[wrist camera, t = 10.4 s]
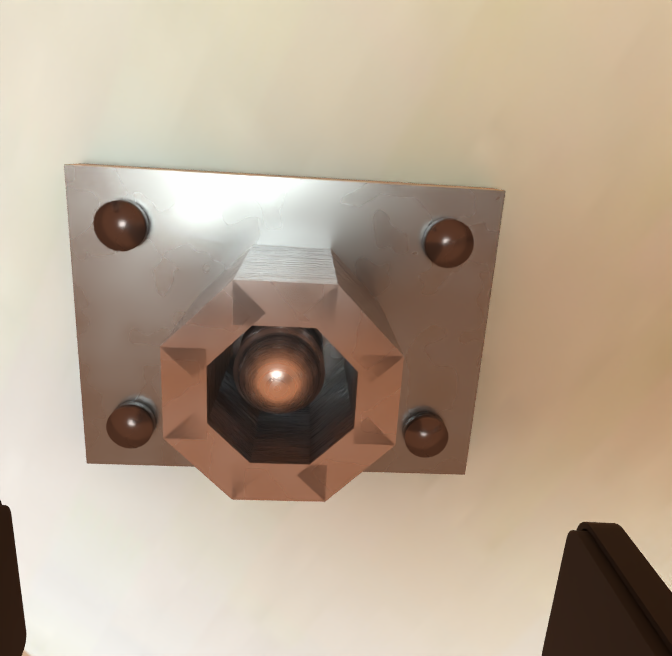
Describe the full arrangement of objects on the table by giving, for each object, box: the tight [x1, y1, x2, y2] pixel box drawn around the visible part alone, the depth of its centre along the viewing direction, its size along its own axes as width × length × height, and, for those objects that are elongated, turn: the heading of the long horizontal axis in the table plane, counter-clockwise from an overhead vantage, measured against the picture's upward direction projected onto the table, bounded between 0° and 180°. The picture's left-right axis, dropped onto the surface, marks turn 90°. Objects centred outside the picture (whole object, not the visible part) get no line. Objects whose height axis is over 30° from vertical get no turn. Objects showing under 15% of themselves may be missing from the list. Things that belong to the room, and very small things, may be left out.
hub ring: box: [160, 245, 404, 502], centre depth 20 cm, size 7×7×6 cm
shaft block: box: [64, 163, 505, 475], centre depth 21 cm, size 16×12×7 cm
